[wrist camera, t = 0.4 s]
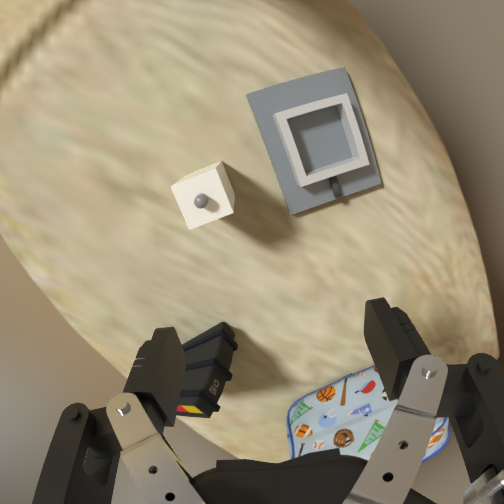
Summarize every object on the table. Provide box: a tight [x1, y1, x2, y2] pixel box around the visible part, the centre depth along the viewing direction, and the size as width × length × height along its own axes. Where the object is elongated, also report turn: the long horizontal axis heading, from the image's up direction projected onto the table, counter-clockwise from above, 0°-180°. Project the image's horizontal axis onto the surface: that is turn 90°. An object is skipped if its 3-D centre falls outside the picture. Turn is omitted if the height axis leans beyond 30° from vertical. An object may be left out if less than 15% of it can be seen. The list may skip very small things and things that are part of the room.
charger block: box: [171, 161, 235, 230], centre depth 32 cm, size 5×5×11 cm
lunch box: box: [286, 366, 450, 463], centre depth 41 cm, size 28×10×22 cm, turn 119°
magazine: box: [176, 322, 238, 418], centre depth 41 cm, size 4×13×15 cm, turn 124°
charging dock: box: [246, 67, 382, 215], centre depth 34 cm, size 16×13×4 cm
